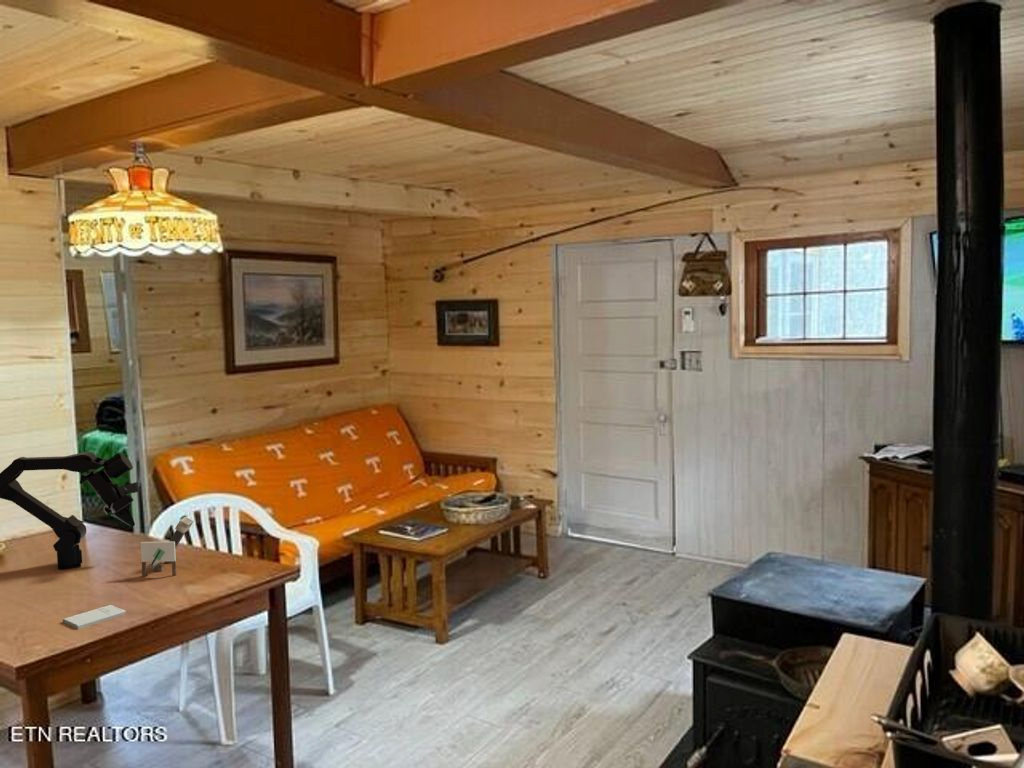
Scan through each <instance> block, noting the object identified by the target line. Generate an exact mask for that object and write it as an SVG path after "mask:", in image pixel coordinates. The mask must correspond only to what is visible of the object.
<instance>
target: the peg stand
mask: <svg viewBox="0 0 1024 768" xmlns="http://www.w3.org/2000/svg"><path fill="white" fill-rule="evenodd" d="M164 564H171V575H172V576H173V577H176V576H177V562H176V561H164V562H160V563H159V564H158V565H156V566H155V567H154V568H153V572H163V571H164V570H165V568H164V567H165V566H164ZM141 574H142V576H141V577H147V562H142V561H141Z"/></svg>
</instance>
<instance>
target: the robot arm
mask: <svg viewBox="0 0 1024 768" xmlns="http://www.w3.org/2000/svg"><path fill="white" fill-rule="evenodd" d="M102 467H103V468H102ZM100 468H101V469H100ZM133 468H134V467H133V464H132V462H131V460H130V459H129V458H128V457H126V456H125V455H124V454H123V453H122V452H120V451H118V452H117V453H116V454H114V455H113V456H112V457H110V458H109V459H105V458H103V457H99V456H97V455H96V454H95V453H94V452H92V451H83V452H80V453H75V454H69V455H65V456H39V457H38V456H33V457H31V456H29V457H28V456H27V457H25V456H20V457H18V458H16V459H14V460H13V461H11V463H10V464H9V465H8V466H7V467H6V468H4V469H3V470H2V471H1V472H0V499H2V500H6V501H9V502H12V503H13V504H15V505H16V506H18V507H20V508H21V509H23V510H25V511H26V513H28V514H30V515H31V516H33V517H35V518H36V519H38V520H39V521H40V522H42V523H44V524H45V525H47V526H48V527H50V528H51V529H52V531H53V533H54V534H55V535H56V537H57V538H58V540H57V541H56V542H55V543H54V544H53V545H52V546H53V549H54V551H55V552H56V559H57V560H56V562H57V563H56V569H57V570H58V571H60V570H61V571H62V570H66V569H74V568H80V567H82V564H83V553H82V548H80V543H81V541H82V539H83V538H84V537H86V535H87V526H86V525H85V524H84V520H80V519H78V518H77V516H75V515H74V514H71V515H70V516H69V517H66V516H63V515H62V514H60V513H59V512H58V511H55V510H54V509H53V508H51V507H50V506H48V505H46V504H45V503H44V502H42V501H40V500H39V499H37V497H34V496H33V495H32V494H30V493H28V492H27V491H25V490H24V489H23V487H22V485H21V484H20V482H19V481H18V480H17V479H18V478H19V477H20V476H21V475H22V473H24V471H50V470H63V471H64V470H65V471H69V472H75V473H80V480H79V484H80V485H81V484H83V483H85V482H87V483H88V485H90V487H91V488H92V489H93V491H94V492H95V493H96V496H97V498H100V500H101V501H102V502H103V504H104V506H103V509H102V510H103V512H104V513H105V515H106V516H107V515H109V514H110V513H111V512H112V513H111V514H110V516H111V517H113V518H115V519H117V520H119V521H121V522H123V523H124V524H126V525H128V526H129V527H135V526H136V523H135V520H134V518H133V516H132V513H131V510H130V508H131V505H132V502H134V498H133V496H131V494H134V493H138V492H140V491H141V490H140V487H139V482H138V481H137V482H130V481H127V482H124V483H122V485H121V486H120V485H118V483H114V481H113V480H112V479H113V478H114V479H119V478H120V477H122V476H124V475H125V474H127V473H129V472H130V471H131V470H133ZM98 469H100V470H98ZM91 470H92V471H91ZM89 471H90V472H89ZM87 472H88V473H87ZM86 473H87V474H86ZM129 494H130V495H129Z"/></svg>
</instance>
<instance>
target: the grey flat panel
mask: <svg viewBox="0 0 1024 768" xmlns="http://www.w3.org/2000/svg"><path fill="white" fill-rule="evenodd" d="M159 550H160V553H159V555H158V556H157V558H156V560H155V562H160V563H164V561H176V549H175V542H169V541H141V542H140V557H141V559H140V560H141V563H142V562H146V563H148V562H149V563H152V562H153V560H154V559H155V557H156V555H157V553H158V552H159Z"/></svg>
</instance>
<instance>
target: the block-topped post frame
mask: <svg viewBox="0 0 1024 768" xmlns="http://www.w3.org/2000/svg"><path fill="white" fill-rule="evenodd" d="M193 523H194V520H192V519H190V518H189V517H187V516H184V517H183V518H181V519H179V521H178V523H177V524H176V526H175V528H174V529H175V531H174V532H173V534H172V537H171V538H170V540H169V541H168V542H175V550H176V549H177V547H178V545H179V544H180V542H181V541H182V538H183V537H184V535H185V534H186V532H188V531H189V530H190V528H191V526H192V525H193ZM159 553H160V550H159V552H158V553H157V555H156V557H155V559H154V560H153V562H150V563H149V564H147V565H146V570H148V571H153V570H154V567H155V566H156V565H158V564H161V562H155V560H156V558H157V556H158V555H159Z"/></svg>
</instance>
